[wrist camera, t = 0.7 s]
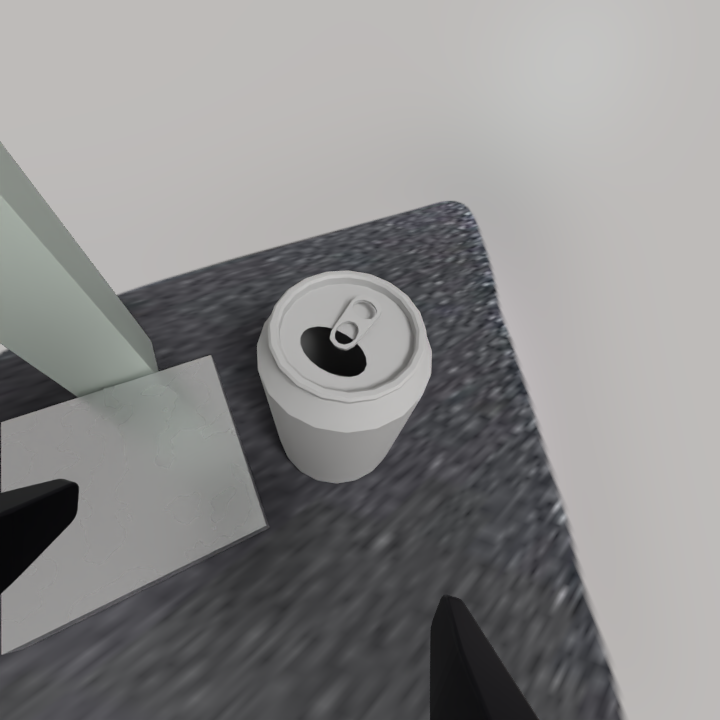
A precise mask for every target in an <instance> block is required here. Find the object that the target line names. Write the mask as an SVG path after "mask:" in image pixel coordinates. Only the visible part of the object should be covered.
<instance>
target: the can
mask: <svg viewBox="0 0 720 720" xmlns="http://www.w3.org/2000/svg"><path fill="white" fill-rule="evenodd" d="M431 359H432V350H431V347H430V344H429V341H428V338H427V335H426V329H425V326H424V323H423V320H422V317H421V314H420V312H419V310H418V309H417V308H416V306H415V305H414V304H413V302H412V301H411V300H410V298H409V297H408V296H407V295H406V294H405V293H403V292H402V291H401V290H399V289H398V288H397V287H395V286H394V285H393V284H391V283H390V282H387V281H385V280H383V279H380V278H378V277H376V276H373V275H371V274H366V273H360V272H354V271H332V272H324V273H321V274H318V275H315V276H311V277H308V278H305V279H304V280H302V281H300V282H299V283H297V284H296V285H294V286H293V287H291V288H290V289H288V290H287V291H286V292H285V293H284V295H283V296H282V297H281V298H280V300H279V301H278V302H277V303H276V304H275V306H274V308H273V311H272V314H271V316H270V317H269V318H268V319H267V321H266V322H265V323H264V326H263V329H262V332H261V335H260V338H259V340H258V343H257V361H258V372H259V375H260V378H261V381H262V384H263V387H264V390H265V394H266V397H267V400H268V403H269V406H270V409H271V412H272V416H273V419H274V422H275V425H276V428H277V431H278V434H279V438H280V441H281V443H282V445H283V448H284V450H285V452H286V455H287V457H288V458H289V460H290V461H291V462H292V463H293V464H294V465H295V466H296V467H297V468H298V469H299V470H300V471H301V472H303V473H305V474H306V475H308V476H310V477H312V478H314V479H316V480H318V481H325V482H331V483H342V482H348V481H354V480H357V479H359V478H360V477H362V476H364V475H366V474H368V473H370V472H372V471H373V470H374V469H375V468H376V466H377V465H378V464H379V463H380V462H381V461H382V460H383V459H384V458H385V456H386V454H387V453H388V451H389V449H390V448H391V446H392V445H393V443H394V441H395V440H396V438H397V436H398V435H399V433H400V431H401V430H402V428H403V426H404V425H405V423H406V421H407V420H408V418H409V416H410V415H411V413H412V412H413V410H414V408H415V407H416V405H417V403H418V402H419V400H420V398H421V397H422V394H423V392H424V390H425V387H426V385H427V383H428V380H429V378H430V375H431Z"/></svg>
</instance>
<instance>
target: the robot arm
mask: <svg viewBox="0 0 720 720" xmlns="http://www.w3.org/2000/svg"><path fill="white" fill-rule="evenodd" d="M78 499H79V486H78V484H77V483H76V482H73V481H69V480H66V479H55V480H51V481H47V482H43V483H39V484H35V485H30V486H26V487H22V488H18V489H14V490H10V491H6V492H2V493H0V594H1V593H3V592H4V591H5V590H6V589H7V588H8V587H9V586H10V585H11V584H12V583H13V582H14V581H15V580H16V579H17V578H18V577H19V576H20V575H21V574H22V573H23V572H24V571H25V570H26V569H27V568H28V567H29V566H30V565H31V564H32V563H33V562H34V561H35V560H36V559H37V558H38V557H39V556H40V555H41V554H42V553H43V552H44V551H45V550H46V549H47V548H48V546H49V545H50V544H51V543H52V542H53V541H54V540H55V539H56V538H57V537H58V536H59V535H60V534H61V533H62V532H63V531H64V530H65V529H66V528H67V527H68V526H69V525H70V524H71V523H72V521H73V520H74V518H75V517H76V514H77V511H78ZM430 720H539V718H538V717H537V715H536V714H535V712H534V711H533V709H532V708H531V706H530V704H529V703H528V701H527V700H526V698H525V697H524V695H523V694H522V692H521V691H520V689H519V687H518V686H517V684H516V683H515V681H514V680H513V678H512V677H511V675H510V673H509V672H508V670H507V669H506V667H505V666H504V664H503V663H502V661H501V660H500V658H499V656H498V655H497V653H496V652H495V650H494V649H493V647H492V646H491V644H490V643H489V641H488V639H487V638H486V636H485V635H484V633H483V632H482V630H481V629H480V627H479V626H478V624H477V622H476V621H475V619H474V618H473V616H472V615H471V613H470V612H469V610H468V608H467V607H466V605H465V604H464V602H463V601H462V600H461V599H459V598H456V597H452V596H449V595H443V596H442V598H441V600H440V603H439V605H438V608H437V610H436V613H435V616H434V618H433V621H432V625H431V637H430Z"/></svg>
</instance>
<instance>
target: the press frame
mask: <svg viewBox="0 0 720 720" xmlns="http://www.w3.org/2000/svg"><path fill="white" fill-rule="evenodd" d="M0 343H1V344H2V345H4V346H5V347H6V348H8V349H9V350H11V351H12V352H13V353H15V354H16V355H18V356H19V357H21V358H22V359H24V360H25V361H26V362H28V363H29V364H31V365H32V366H34V367H35V368H37V369H38V370H40V371H41V372H42V373H44V374H45V375H47V376H48V377H50V378H51V379H53V380H54V381H55V382H57V383H58V384H60V385H61V386H63V387H64V388H66V389H67V390H68V391H70V392H71V393H73V394H74V395H76V396H77V397H82V396H85V395H88V394H91V393H94V392H97V391H100V390H103V389H107V388H110V387H113V386H116V385H119V384H122V383H125V382H128V381H131V380H134V379H138V378H141V377H144V376H147V375H150V374H153V373H156V372H159V371H158V367H157V363H156V359H155V355H154V351H153V346H152V342H151V340H150V339H149V337H148V336H147V335H146V333H145V332H144V331H143V330H142V328H141V327H140V326H139V324H138V323H137V322H136V320H135V319H134V318H133V316H132V315H131V314H130V312H129V311H128V310H127V308H126V307H125V306H124V304H123V303H122V302H121V300H120V299H119V298H118V296H117V295H116V294H115V293H114V291H113V290H112V289H111V287H110V286H109V285H108V283H107V282H106V281H105V279H104V278H103V277H102V275H101V274H100V273H99V271H98V270H97V269H96V267H95V266H94V265H93V263H91V261H90V259H89V258H88V257H87V256H86V254H85V253H84V252H83V250H82V249H81V248H80V246H79V245H78V244H77V243H76V241H75V240H74V238H73V237H72V236H71V234H70V233H69V232H68V230H67V229H66V228H65V226H63V224H62V223H61V221H60V220H59V219H58V217H57V216H56V215H55V213H54V212H53V211H52V209H51V208H50V207H49V205H48V204H47V203H46V201H45V200H44V199H43V197H42V196H41V195H40V194H39V192H38V191H37V189H36V188H35V187H34V185H33V184H32V183H31V181H30V180H29V179H28V177H27V176H26V175H25V174H24V172H23V171H22V170H21V168H20V167H19V166H18V164H17V163H16V162H15V160H14V159H13V158H12V156H11V155H10V154H9V153H8V152H7V150H6V148H5V147H4V146H3V144H2V143H1V142H0Z"/></svg>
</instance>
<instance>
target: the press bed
mask: <svg viewBox="0 0 720 720" xmlns="http://www.w3.org/2000/svg"><path fill="white" fill-rule="evenodd" d="M55 479H66V480H69V481H73V482H76V483H77V484H78V486H79V499H78V511H77V514H76V517H75V518H74V520H73V521H72V523H71V524H70V525H69V526H68V527H67V528H66V529H65V530H64V531H63V532H62V533H61V534H60V535H59V536H58V537H57V538H56V539H55V540H54V541H53V542H52V543H51V544H50V545H49V546H48V548H47V549H46V550H45V551H44V552H43V553H42V554H41V555H40V556H39V557H38V558H37V559H36V560H35V561H34V562H33V563H32V564H31V565H30V566H29V567H28V568H27V569H26V570H25V571H24V572H23V573H22V574H21V575H20V576H19V577H18V578H17V579H16V580H15V581H14V582H13V583H12V584H11V585H10V586H9V587H8V588H7V589H6V590H5V591H4V592H3V593H1V655H4V654H7V653H11V652H14V651H18V650H21V649H25V648H27V647H30V646H32V645H34V644H36V643H38V642H40V641H42V640H44V639H46V638H48V637H50V636H52V635H54V634H56V633H58V632H60V631H62V630H64V629H66V628H68V627H70V626H72V625H74V624H76V623H78V622H80V621H82V620H84V619H86V618H88V617H90V616H92V615H94V614H96V613H98V612H100V611H102V610H105V609H107V608H109V607H111V606H113V605H115V604H117V603H119V602H121V601H123V600H125V599H127V598H129V597H131V596H133V595H135V594H137V593H139V592H141V591H143V590H145V589H147V588H149V587H151V586H153V585H155V584H157V583H159V582H161V581H163V580H165V579H167V578H169V577H171V576H173V575H175V574H177V573H180V572H182V571H184V570H186V569H188V568H190V567H192V566H194V565H196V564H198V563H200V562H202V561H204V560H206V559H208V558H210V557H212V556H214V555H216V554H218V553H220V552H222V551H224V550H226V549H228V548H230V547H232V546H234V545H236V544H238V543H240V542H242V541H244V540H246V539H248V538H250V537H252V536H255V535H257V534H259V533H261V532H263V531H265V530H267V529H269V528H270V527H269V524H268V521H267V518H266V515H265V512H264V509H263V506H262V502H261V499H260V496H259V493H258V490H257V487H256V484H255V481H254V478H253V475H252V472H251V469H250V466H249V463H248V460H247V457H246V454H245V451H244V448H243V445H242V442H241V439H240V436H239V433H238V429H237V426H236V423H235V420H234V417H233V414H232V411H231V408H230V405H229V402H228V399H227V396H226V393H225V390H224V387H223V384H222V381H221V378H220V375H219V372H218V369H217V366H216V364H215V362H214V360H213V358H212V356H211V355H209V356H206V357H203V358H200V359H197V360H194V361H190V362H187V363H184V364H181V365H178V366H175V367H172V368H169V369H166V370H162V371H159V372H156V373H153V374H150V375H147V376H144V377H141V378H138V379H134V380H131V381H128V382H125V383H122V384H119V385H116V386H113V387H110V388H107V389H103V390H100V391H97V392H94V393H91V394H88V395H85V396H82V397H79V398H75V399H72V400H69V401H66V402H63V403H60V404H57V405H54V406H51V407H47V408H44V409H41V410H38V411H35V412H32V413H29V414H26V415H23V416H20V417H16V418H13V419H10V420H7V421H4V422H1V493H2V492H6V491H10V490H14V489H18V488H22V487H26V486H30V485H35V484H39V483H43V482H47V481H51V480H55Z"/></svg>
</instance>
